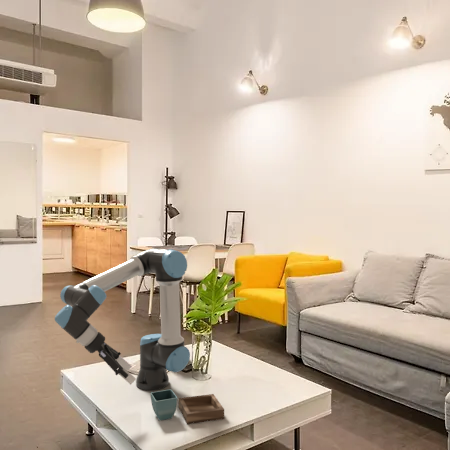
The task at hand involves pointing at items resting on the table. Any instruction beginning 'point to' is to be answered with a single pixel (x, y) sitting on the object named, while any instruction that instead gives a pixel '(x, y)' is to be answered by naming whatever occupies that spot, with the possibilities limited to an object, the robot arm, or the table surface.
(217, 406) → the wooden tray
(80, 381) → the table surface
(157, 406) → the flower pot
